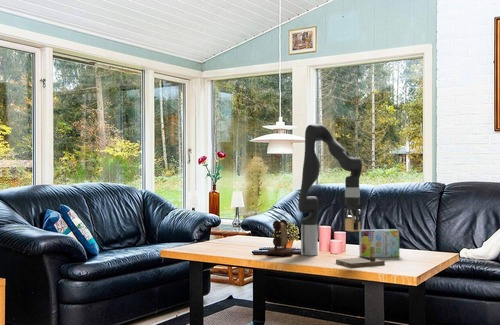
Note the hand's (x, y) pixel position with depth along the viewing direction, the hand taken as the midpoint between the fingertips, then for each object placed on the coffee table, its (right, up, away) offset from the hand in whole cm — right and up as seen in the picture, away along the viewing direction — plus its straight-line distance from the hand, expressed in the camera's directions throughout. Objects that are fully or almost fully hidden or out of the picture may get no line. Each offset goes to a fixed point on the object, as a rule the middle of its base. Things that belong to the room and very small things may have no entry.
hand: (352, 229), depth 282 cm
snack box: (+19, -18, +25) cm, 36 cm away
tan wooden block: (0, -1, 0) cm, 1 cm away
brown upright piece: (-35, -19, +31) cm, 51 cm away
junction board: (+4, -18, 0) cm, 18 cm away
